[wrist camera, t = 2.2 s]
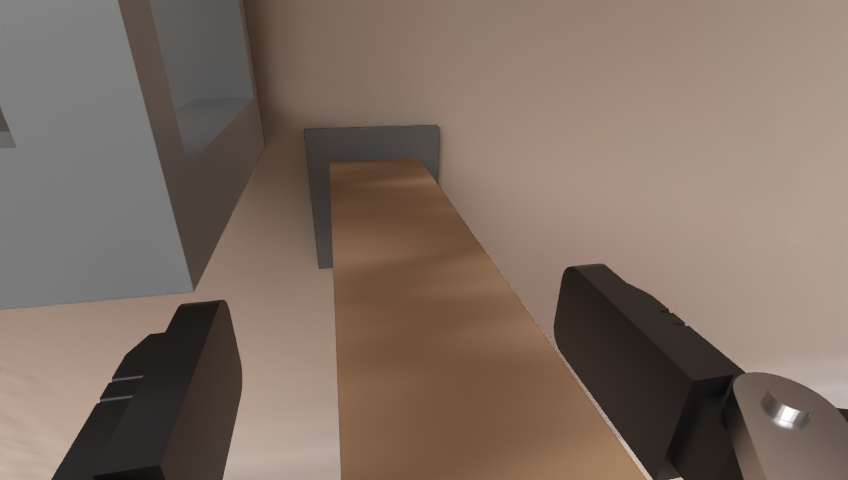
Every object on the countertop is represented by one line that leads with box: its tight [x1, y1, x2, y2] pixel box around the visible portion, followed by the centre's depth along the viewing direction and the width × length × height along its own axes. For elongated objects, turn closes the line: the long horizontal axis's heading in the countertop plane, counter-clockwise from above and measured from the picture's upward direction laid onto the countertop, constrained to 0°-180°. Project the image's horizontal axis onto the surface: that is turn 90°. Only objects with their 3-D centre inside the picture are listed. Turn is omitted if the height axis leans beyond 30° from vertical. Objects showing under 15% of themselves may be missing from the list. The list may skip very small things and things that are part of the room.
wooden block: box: [329, 158, 647, 480], centre depth 9 cm, size 3×3×14 cm
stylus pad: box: [304, 125, 439, 269], centre depth 16 cm, size 4×5×1 cm
